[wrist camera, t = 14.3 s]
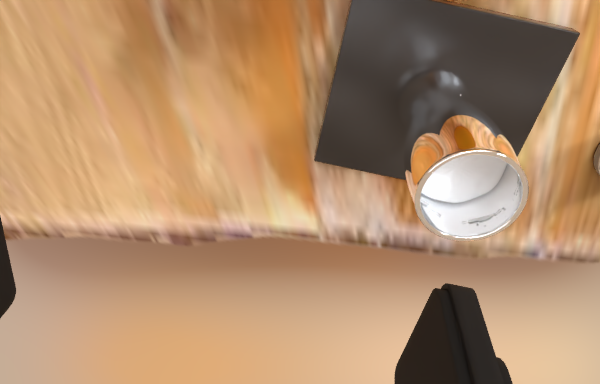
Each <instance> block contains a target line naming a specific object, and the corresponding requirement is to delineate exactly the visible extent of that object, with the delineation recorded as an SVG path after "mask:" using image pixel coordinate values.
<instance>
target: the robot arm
mask: <svg viewBox="0 0 600 384" xmlns="http://www.w3.org/2000/svg"><path fill="white" fill-rule="evenodd" d="M15 294H16V287H15V282H14V277H13V273H12V268H11V264H10V259H9V254H8V250H7V245H6V240H5V236H4V231H3V226H2V222H1V217H0V318H1V317H2V315H3V314H4V313H5V312H6V311H7V309H8V308H9V307H10V305H11V304H12V302H13V300H14V298H15ZM395 384H512V381H511V378H510V375H509V372H508V369H507V367H506V365H505V363H504V362H503V361H502V360H501V359H500V358H497V357H496V356H495V352H494V349H493V346H492V343H491V340H490V337H489V334H488V331H487V327H486V324H485V321H484V318H483V315H482V311H481V308H480V305H479V302H478V299H477V296H476V293H475V291H474V290H473V289H472V288H467V287H462V286H457V285H453V284H444V285H443V286H442V288H441V289H437V288H435V289H434V290H433V291H432V293H431V295H430V297H429V299H428V301H427V303H426V305H425V307H424V309H423V311H422V313H421V316H420V318H419V320H418V322H417V324H416V326H415V328H414V330H413V332H412V334H411V336H410V338H409V340H408V343H407V345H406V347H405V349H404V351H403V353H402V355H401V357H400V359H399V361H398V363H397V366H396V370H395Z"/></svg>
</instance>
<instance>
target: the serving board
mask: <svg viewBox="0 0 600 384" xmlns="http://www.w3.org/2000/svg"><path fill="white" fill-rule="evenodd" d="M579 35H580V33H579V32H577V31H576V30H574V29H572V28H568V27H563V26H559V25H554V24H550V23H545V22H541V21H536V20H532V19H527V18H522V17H518V16H513V15H509V14H504V13H500V12H495V11H491V10H486V9H482V8H477V7H472V6H468V5H463V4H459V3H454V2H450V1H445V0H351V2H350V6H349V10H348V15H347V19H346V23H345V28H344V32H343V36H342V40H341V45H340V49H339V53H338V58H337V62H336V66H335V70H334V75H333V79H332V83H331V88H330V92H329V96H328V100H327V105H326V109H325V113H324V118H323V122H322V126H321V130H320V135H319V139H318V143H317V148H316V152H315V158H314V161H318V162H323V163H327V164H332V165H337V166H342V167H346V168H351V169H356V170H361V171H365V172H370V173H375V174H380V175H384V176H389V177H394V178H399V179H403V180H406V176H405V170H404V162H403V155H404V143H405V136H406V131H407V129H406V127H405V126H404V125H403V123H402V122H401V120H400V117H399V114H398V101H399V97H400V95H401V93H402V91H403V89H404V87H405V86H406V85H407V84H408V83H409V82H410V81H411V80H412V79H413V78H415V77H416V76H418V75H420V74H422V73H425V72H428V71H434V70H442V71H447V72H451V73H453V74H455V75H457V76H458V77H459V78H461V79H462V80H463V81H464V83H465V84H466V86H467V87H468V90H469V92H470V97H471V103H472V104H473V105H475V106H476V107H477V108H479V109H480V110H482V111H483V112H484V113H486V114H487V115H488V116H489V117H490V118H491V119H492V120H493V121H494V122H495V123H496V124H497V125H498V126H499V127H500V129H501V130H502V131H503V133H504V134H505V135H506V137H507V139H508V140H509V142H510V144H511V146H512V148H513V149H514V152H515V154H516V156H518V154H519V152H520V150H521V148H522V146H523V144H524V142H525V141H526V139H527V137H528V135H529V133H530V131H531V129H532V127H533V125H534V123H535V121H536V119H537V117H538V115H539V113H540V111H541V109H542V107H543V105H544V103H545V101H546V99H547V97H548V95H549V93H550V92H551V90H552V88H553V86H554V84H555V82H556V80H557V78H558V76H559V74H560V72H561V70H562V68H563V66H564V64H565V62H566V60H567V58H568V56H569V54H570V52H571V50H572V48H573V46H574V45H575V43H576V41H577V39H578V37H579Z"/></svg>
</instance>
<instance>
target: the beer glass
mask: <svg viewBox="0 0 600 384" xmlns="http://www.w3.org/2000/svg"><path fill="white" fill-rule="evenodd" d="M398 114H399V117H400V120H401V122H402V123H403V125H404V126H405V127H406V129H407V131H406V136H405V143H404V155H403V162H404V170H405V176H406V180H407V184H408V188H409V191H410V194H411V197H412V200H413V202H414V205H415V209H416V213H417V215H418V217H419V219H420V221H421V222H422V223H423V225H424V226H425V227H426V228H427V229H428V230H430V231H431V232H433V233H434V234H436V235H438V236H440V237H443V238H446V239H449V240H454V241H475V240H480V239H484V238H487V237H490V236H493V235H495V234H497V233H499V232H501V231H502V230H504V229H505V228H507V227H508V226H509V225H511V224H512V223H513V222H514V221H515V220H516V219H517V218H518V216H519V215H520V214H521V212H522V211H523V209H524V207H525V205H526V202H527V199H528V193H529V186H528V180H527V177H526V175H525V173H524V171H523V169H522V168H521V165H520V163H519V160H518V158H517V156H516V154H515V152H514V149H513V148H512V146H511V144H510V142H509V140H508V139H507V137H506V135H505V134H504V133H503V131H502V130H501V129H500V127H499V126H498V125H497V124H496V123H495V122H494V121H493V120H492V119H491V118H490V117H489V116H488V115H487V114H486V113H484V112H483V111H482V110H480V109H479V108H477V107H476V106H475V105H473V104H472V103H471V97H470V92H469V90H468V87H467V86H466V84H465V83H464V81H463V80H462V79H461V78H459V77H458V76H457V75H455V74H453V73H451V72H447V71H442V70H434V71H428V72H425V73H422V74H420V75H418V76H416V77H415V78H413V79H412V80H411V81H410V82H409V83H408V84H407V85H406V86H405V87H404V89H403V91H402V93H401V95H400V97H399V101H398Z"/></svg>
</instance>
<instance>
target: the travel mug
mask: <svg viewBox="0 0 600 384" xmlns="http://www.w3.org/2000/svg"><path fill="white" fill-rule="evenodd" d="M594 167H595V170H596V172H597V173H598V174H599V175H600V144H599V146H598V148H597V149H596V151H595V155H594Z"/></svg>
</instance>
